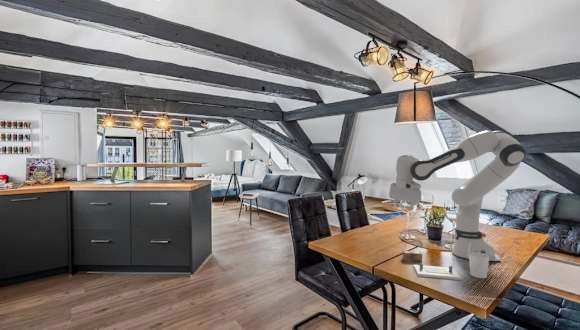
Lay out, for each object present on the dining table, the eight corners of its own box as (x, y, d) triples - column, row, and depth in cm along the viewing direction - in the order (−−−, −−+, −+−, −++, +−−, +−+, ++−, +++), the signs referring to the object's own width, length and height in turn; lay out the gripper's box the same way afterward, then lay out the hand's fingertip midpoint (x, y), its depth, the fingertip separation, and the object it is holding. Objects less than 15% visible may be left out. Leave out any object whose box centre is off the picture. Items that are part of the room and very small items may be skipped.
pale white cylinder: (480, 272, 141) (481, 251, 141) (492, 279, 133) (493, 257, 133) (464, 272, 141) (465, 251, 140) (475, 279, 133) (476, 257, 133)
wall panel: (452, 270, 143) (452, 262, 143) (460, 280, 131) (460, 271, 131) (413, 266, 147) (413, 259, 147) (418, 276, 136) (418, 268, 135)
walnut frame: (419, 261, 156) (420, 251, 156) (422, 263, 152) (422, 253, 152) (402, 259, 158) (402, 250, 158) (404, 262, 154) (404, 252, 154)
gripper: (386, 182, 169) (386, 206, 169) (414, 185, 150) (414, 212, 150) (395, 182, 171) (394, 205, 172) (423, 185, 153) (422, 211, 153)
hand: (403, 208), depth 161 cm, fingers open, 8 cm apart
